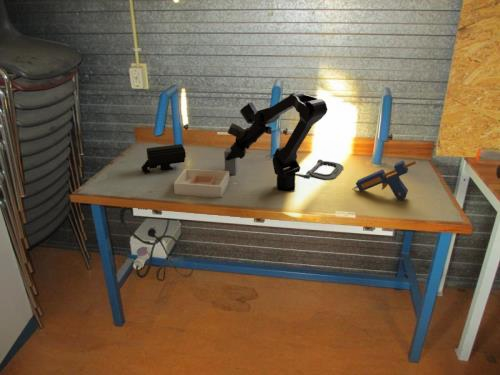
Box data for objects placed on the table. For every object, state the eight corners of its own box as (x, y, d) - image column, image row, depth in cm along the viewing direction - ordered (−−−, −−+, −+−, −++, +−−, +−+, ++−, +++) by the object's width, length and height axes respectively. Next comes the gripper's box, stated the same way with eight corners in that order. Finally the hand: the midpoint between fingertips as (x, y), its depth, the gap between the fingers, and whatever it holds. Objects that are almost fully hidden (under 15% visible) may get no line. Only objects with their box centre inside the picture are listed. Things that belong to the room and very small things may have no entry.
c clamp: (328, 185, 157) (328, 179, 155) (290, 175, 165) (290, 169, 164) (348, 168, 171) (349, 162, 170) (312, 160, 180) (312, 154, 179)
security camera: (141, 170, 170) (138, 148, 165) (184, 164, 176) (182, 142, 171) (143, 176, 164) (140, 153, 160) (187, 169, 170) (185, 147, 165)
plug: (237, 170, 169) (237, 148, 164) (235, 175, 165) (235, 152, 160) (227, 170, 169) (226, 148, 165) (225, 174, 165) (224, 151, 161)
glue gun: (365, 210, 155) (350, 183, 153) (429, 183, 142) (413, 154, 140) (364, 215, 150) (347, 188, 149) (429, 188, 137) (412, 158, 136)
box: (229, 181, 159) (229, 171, 157) (221, 197, 146) (221, 186, 144) (186, 178, 161) (185, 168, 159) (174, 194, 149) (173, 183, 147)
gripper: (243, 111, 164) (218, 136, 171) (235, 125, 148) (207, 151, 154) (262, 130, 167) (237, 154, 173) (256, 146, 150) (228, 171, 156)
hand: (227, 157), depth 164 cm, fingers open, 6 cm apart
